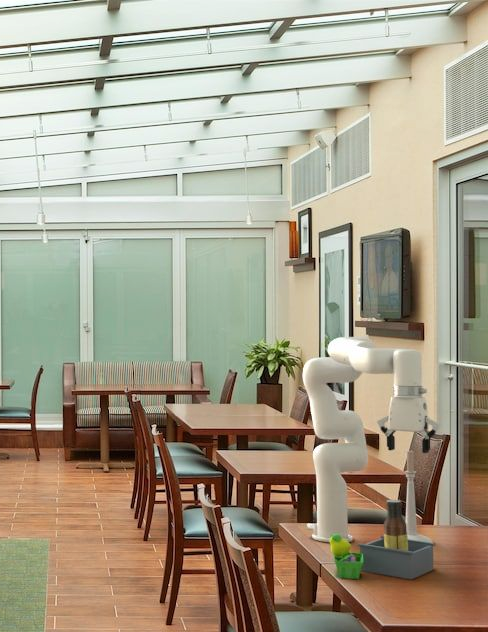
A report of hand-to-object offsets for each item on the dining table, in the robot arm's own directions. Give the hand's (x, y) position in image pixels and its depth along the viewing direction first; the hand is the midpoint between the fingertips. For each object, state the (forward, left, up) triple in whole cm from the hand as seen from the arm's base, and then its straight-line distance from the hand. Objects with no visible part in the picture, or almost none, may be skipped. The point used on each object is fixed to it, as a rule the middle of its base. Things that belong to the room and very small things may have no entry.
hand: (408, 451), depth 277 cm
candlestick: (-14, +36, -34) cm, 51 cm away
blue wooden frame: (-2, -4, -34) cm, 34 cm away
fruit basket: (-10, -19, -34) cm, 40 cm away
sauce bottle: (-2, -4, -34) cm, 34 cm away
